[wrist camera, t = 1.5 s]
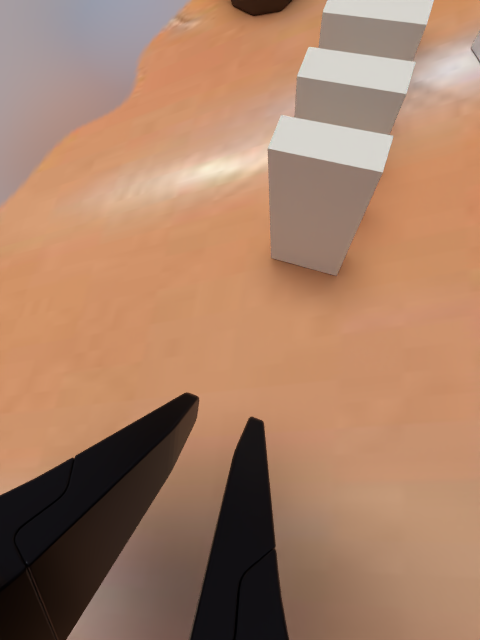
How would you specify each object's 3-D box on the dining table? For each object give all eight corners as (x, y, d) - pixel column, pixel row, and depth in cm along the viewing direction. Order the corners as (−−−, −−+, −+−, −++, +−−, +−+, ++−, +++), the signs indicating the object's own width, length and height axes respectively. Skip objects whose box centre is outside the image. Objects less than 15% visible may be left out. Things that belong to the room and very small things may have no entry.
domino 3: (366, 179, 26) (426, 24, 16) (304, 165, 27) (322, 12, 17) (372, 159, 27) (434, -4, 16) (311, 147, 28) (333, -14, 17)
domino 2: (351, 225, 25) (406, 93, 15) (288, 210, 26) (296, 76, 16) (358, 204, 26) (415, 62, 15) (295, 189, 27) (308, 46, 16)
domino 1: (336, 276, 24) (382, 172, 14) (271, 258, 25) (267, 148, 15) (343, 253, 25) (393, 135, 14) (278, 236, 26) (281, 115, 15)
